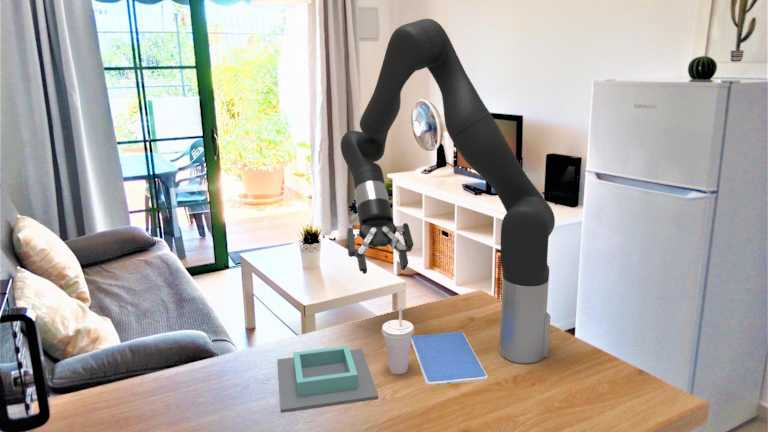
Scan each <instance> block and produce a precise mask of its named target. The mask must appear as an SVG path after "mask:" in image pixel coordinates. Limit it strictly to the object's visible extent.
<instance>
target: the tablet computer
mask: <svg viewBox="0 0 768 432" xmlns="http://www.w3.org/2000/svg"><path fill="white" fill-rule="evenodd" d="M411 346H412V348H413V351H414V353H415V357H416V359H417V362H418V366H419V368H420V371H421V374H422V377H423V379H424V383H425V385H426V386H438V385H440V386H442V385H449V384H451V385H453V384H462V383H473V382H483V381H484V382H486V381H487V380H488V379H489V376H488V373H487V371H485V369H484V367H483V365H482V363H481V362H480V359H479V358H478V357H477V354H476V352H475V350H474V349H473V347H472V345H471V343H470V342H469V339H468V338H467V336H466V334H465V333H464V332H462V331H452V332H444V333H443V332H441V333H431V334H421V335H420V334H419V335H412V338H411Z"/></svg>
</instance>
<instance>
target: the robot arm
mask: <svg viewBox="0 0 768 432" xmlns="http://www.w3.org/2000/svg"><path fill="white" fill-rule="evenodd" d="M426 68H427V70H428V71H429V73H430V74H431V76H432V77H433V79H434V81H435V82H436V84H437V86H438V88H439V91H440V94H441V100H442V106H443V108H442V109H443V116H444V123H445V128H446V131H447V134H448V135H449V138H450V139H451V141H452V143H453V144H454V145H455V147H456V149H457V151H458V153H459V154H460V156H461V157H462V158H463V159H464V161H465V162H466V163H467V164H468V165H469V166H470V168H472V169H473V171H475V173H477V174H478V175H479V176H480V177H481V178H482V179H483V180H485V181H486V182H487V183H488V184H489V185H490V186H491V187H492V189H493V190H494V191H495V193H496V194H497V196H498V198H499V199H500V202H501V203H502V206H503V207H504V209H505V211H506V213H505V215H504V216H503V218H502V223H501V227H500V266H501V269H502V283H501V286H502V287H501V307H500V308H501V309H500V329H499V330H500V333H499V353H500V356H502V357H503V358H504V359H506V360H508V361H511V362H514V363H518V364H533V363H537V362H539V361H541V360H542V359H543V358H547V357H549V344H550V330H551V329H550V328H551V315H550V314H549V313H548V296H549V295H548V294H549V281H550V266H549V265H548V254H549V253H548V251H549V238H550V235H551V234H552V232H553V230H554V228H555V225H556V221H555V220H556V219H555V214H554V211H553V209H552V207H551V206H550V205H549V203H548V202H547V200H546V199H545V198H544V196H543V195H542V194H541V193H540V191H539V190H538V189H537V187H536V186H535V185H534V184H533V182H532V181H531V180H530V179H529V178H530V177H528V175H527V174H526V172H525V171H524V169H523V167H522V166H521V164H520V162H519V160H518V158H517V156H516V154H515V153H514V151H513V150H512V147H511V145H509V143H508V141H507V140H506V137H505V136H504V134H503V132H502V130H501V129H500V127H499V125H498V124H497V122H496V120H495V119H494V117H493V115H492V114H491V112H490V111H489V109H488V107H487V106H486V105H485V103H484V101H483V99H481V97H480V94H479V93H478V91H477V90H476V88H475V86H474V84H473V82H472V81H471V79H470V78H469V76H468V75H467V73H466V70H465V69H464V66H463V65H462V62H461V60H460V58H459V56H458V53H457V51H456V49H455V47H454V46H453V44H452V41H451V39H450V37H449V36H448V33H447V32H446V30H445V28H443V26H442V25H441V24H440V23H438V21H436V20H435V19H433V18H423V19H418V20H416V21H412V22H408V23H406V24H402V25H400V26H398V27H397V28H396V29H395V30H394V31H393V33H392V34H391V36H390V38H389V41H388V43H387V47H386V50H385V53H384V58H383V61H382V64H381V68H380V71H379V75H378V79H377V82H376V85H375V88H374V90H373V93H372V95H371V97H370V100H369V101H368V103H367V105H366V107H365V109H364V111H363V113H362V116H360V120H359V127H360V128H359V129H360V130H361V131H358V130H349V131H347V132H345V133H344V134H343V136H342V137H341V142H340V151H341V155H342V157H343V159H344V162H345V164H346V165H347V167H348V169H349V172H350V174H351V175H352V178H353V184H354V190H355V207H356V210H357V211H356V212H357V215H358V216H357V217H358V222H359V224H358V225H359V229H354V228H353V227H348V228H347V232H346V240H347V243H346V245H347V252H348V257H350V258H353V257H354V258H356V259H357V263H358V264H357V265H358V269H359V271H360V272H362V274H367V272H368V268H367V262H366V255H365V253H366V252H367V251H368V250H369V248H370V247H372V248H378V247H382V248H383V247H387V246H389V247H390V248H391V249H392V250H395V251H396V252H397V253H398V259H399V260H398V261H399V265H400V270H401V271H406V268H408V266H409V259H408V254H407V253H409V252H411V251H412V250H413V247H414V245H415V244H414V241H413V238H412V234H411V231H410V226H409V224H408V222H407V223H406V222H404V223H403V224H402V225H395V223H394V219H393V213H392V207H391V204H390V200H389V199H390V198H389V195H388V191H387V188H386V183H385V178H384V174H383V169H382V167H381V165H380V164H379V163H377V162H378V161H380V160H381V159H382V157H383V156H384V154H385V150H386V143H387V140H388V139H387V138H388V134H389V131H390V129H391V127H392V126H393V124H394V122H395V121H396V119H397V116H398V115H399V113H400V110H401V102H402V101H401V100H402V99H401V93H402V91H403V90H402V89H403V88H404V85H406V83H407V82H408V81H409V79H410V78H411V76H412V75H414V73H415V72H417V71H421V70H422V69H423V70H424V69H426ZM397 233H399V235H400V236H402V238H403V243H402V242H401V241H400V239H399V237H398V236H396V234H397ZM358 236H359V237H360V238H361V239H362V240H363V241H362V242H361V246H360V247H359V248H358V249H357V248H355V240H357V237H358Z"/></svg>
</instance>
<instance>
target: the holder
mask: <svg viewBox="0 0 768 432" xmlns="http://www.w3.org/2000/svg"><path fill="white" fill-rule="evenodd" d="M277 371H278V372H277V373H278V374H277V375H278V386H279V399H280V400H279V402H280V412H281V413H288V412H294V411H302V410H307V409H308V410H309V409H315V408H323V407H329V406H336V405H337V406H338V405H342V404H343V405H344V404H352V403H356V402H364V401H365V402H366V401H371V400H378V399H379V394H378V391H377V388H376V386H375V383H374V379H373V377H372V374H371V371H370V367H369V365H368V362H367V359H366V356H365V354H364V352H363V348H359V349H358V348H356V349H350V347H349V345H343V346H342V345H341V346H334V347H327V348H326V347H325V348H318V349H310V350H304V351H303V350H301V351H295V352H294V351H293V357H286V358H277Z"/></svg>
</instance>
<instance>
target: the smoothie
mask: <svg viewBox="0 0 768 432" xmlns="http://www.w3.org/2000/svg"><path fill="white" fill-rule="evenodd" d="M402 310H403V307H402V305H400V306H398V319H390V320H388V321H386V322H384V323H383V324H382V327H381V333H382V335H383V338H384V342H385V343H384V344H385V350H386V356H387V357H386V358H387V363H388V369H389V372H390V373H392V374H394V375H404V374H406V373H407V372H408V367H409V360H410V352H411V346H412V343H411V338H412V336H413V334H414V331H415V329H414V325H413V323H412V322H410V321H408V320H404V319H403V313H402Z"/></svg>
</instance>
